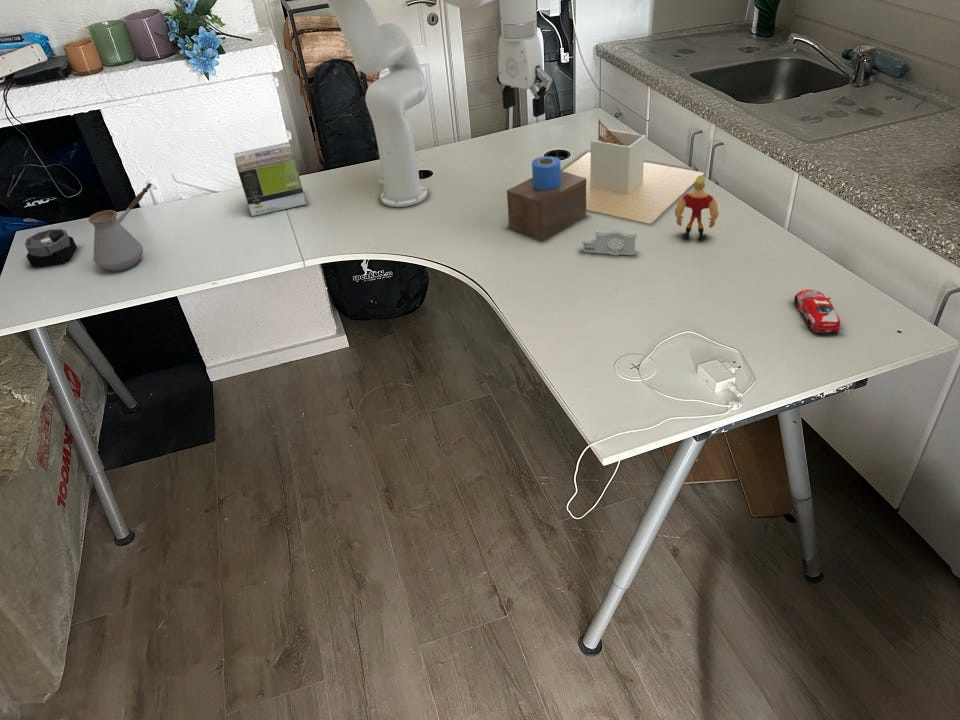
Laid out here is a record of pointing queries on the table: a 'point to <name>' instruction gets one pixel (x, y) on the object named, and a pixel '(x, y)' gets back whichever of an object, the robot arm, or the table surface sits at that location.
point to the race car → (817, 311)
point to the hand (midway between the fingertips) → (524, 111)
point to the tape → (546, 173)
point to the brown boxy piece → (546, 207)
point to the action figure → (697, 208)
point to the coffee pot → (115, 239)
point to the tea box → (270, 178)
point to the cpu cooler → (50, 248)
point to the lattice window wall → (605, 237)
